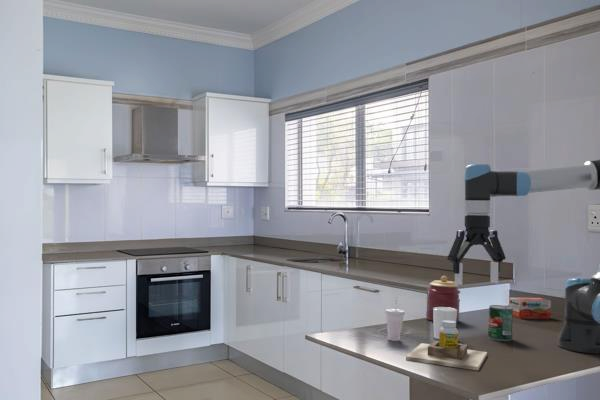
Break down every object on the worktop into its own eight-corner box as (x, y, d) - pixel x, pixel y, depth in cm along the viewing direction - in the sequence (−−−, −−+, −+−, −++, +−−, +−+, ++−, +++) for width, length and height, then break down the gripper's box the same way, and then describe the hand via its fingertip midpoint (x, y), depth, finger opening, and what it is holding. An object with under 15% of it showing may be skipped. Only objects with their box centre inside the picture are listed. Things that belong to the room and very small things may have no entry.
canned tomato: (483, 337, 208) (485, 306, 208) (493, 335, 214) (495, 304, 214) (505, 342, 203) (507, 309, 203) (515, 339, 208) (517, 307, 209)
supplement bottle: (452, 351, 180) (453, 319, 180) (460, 356, 175) (462, 323, 175) (435, 351, 179) (436, 319, 179) (443, 356, 174) (445, 323, 174)
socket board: (486, 355, 182) (487, 343, 182) (478, 370, 164) (478, 357, 164) (421, 346, 190) (421, 335, 190) (405, 359, 172) (406, 347, 172)
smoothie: (405, 339, 200) (407, 297, 200) (400, 342, 194) (402, 299, 194) (387, 336, 202) (389, 295, 202) (381, 340, 196) (383, 297, 197)
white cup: (456, 341, 200) (457, 311, 200) (432, 339, 201) (433, 309, 201) (455, 337, 207) (456, 308, 207) (431, 335, 209) (433, 306, 209)
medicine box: (538, 315, 262) (539, 297, 262) (551, 319, 254) (551, 300, 254) (508, 315, 258) (509, 297, 259) (519, 319, 251) (520, 300, 251)
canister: (462, 324, 232) (464, 278, 233) (429, 322, 233) (431, 276, 233) (454, 317, 245) (456, 274, 246) (422, 316, 246) (424, 273, 246)
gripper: (500, 214, 193) (500, 280, 193) (436, 214, 184) (435, 283, 184) (517, 215, 186) (517, 283, 186) (451, 214, 177) (450, 286, 177)
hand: (476, 283), depth 185 cm, fingers open, 13 cm apart
